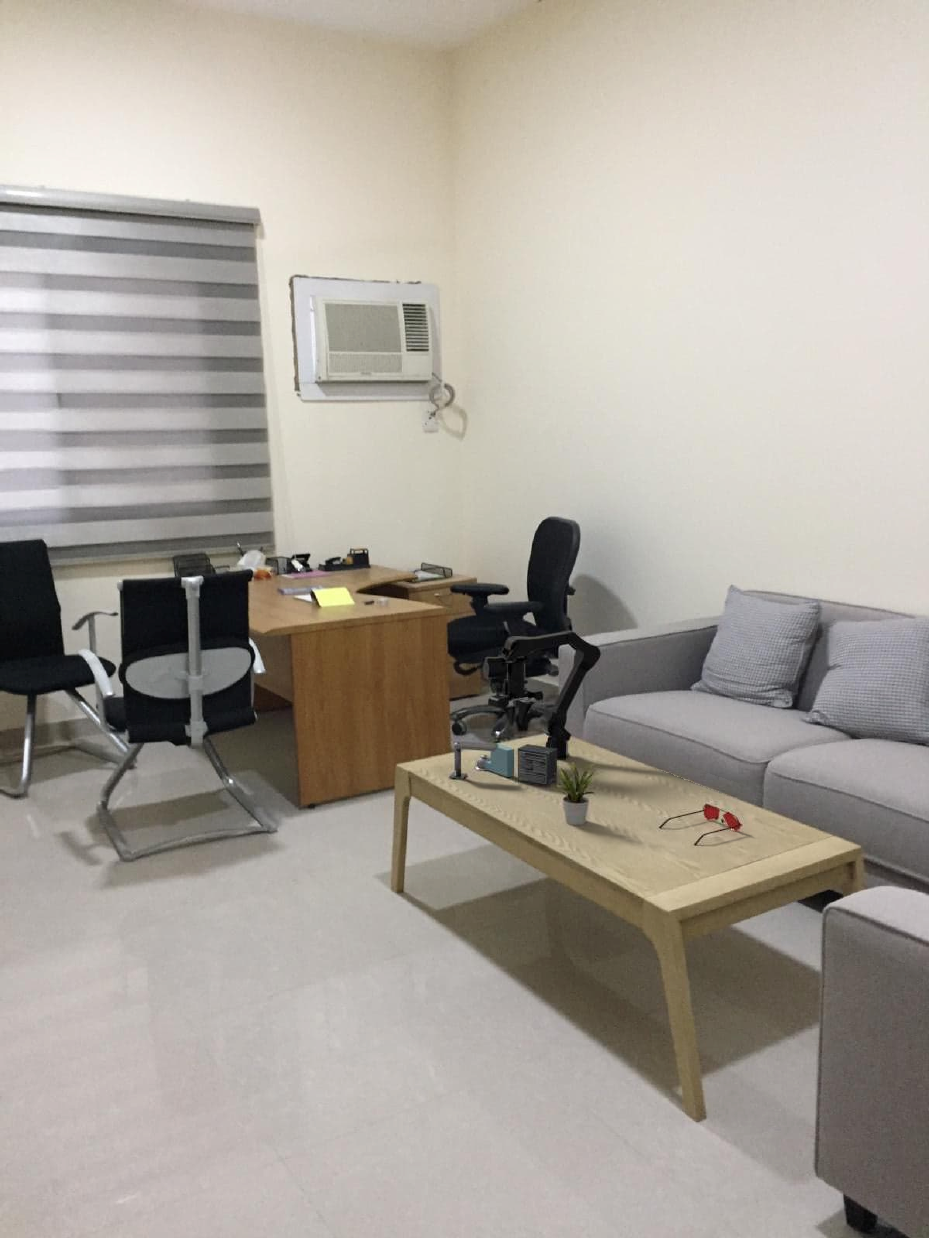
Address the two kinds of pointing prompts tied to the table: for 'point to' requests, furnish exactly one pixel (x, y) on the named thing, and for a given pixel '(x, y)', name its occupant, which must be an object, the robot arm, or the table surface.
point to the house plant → (576, 795)
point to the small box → (537, 765)
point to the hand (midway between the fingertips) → (516, 724)
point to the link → (499, 761)
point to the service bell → (481, 768)
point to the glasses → (713, 813)
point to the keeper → (468, 746)
